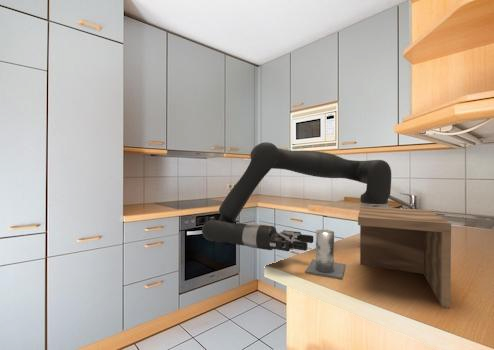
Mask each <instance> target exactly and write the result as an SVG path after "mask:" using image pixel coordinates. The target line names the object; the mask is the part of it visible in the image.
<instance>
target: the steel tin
mask: <svg viewBox="0 0 494 350" xmlns="http://www.w3.org/2000/svg"><path fill="white" fill-rule="evenodd" d="M315 260H316V270H317V271H319V272H322V273H332V272H334V262H335V232H334V230H333V231H332V230H329V229H318V230H316V231H315Z"/></svg>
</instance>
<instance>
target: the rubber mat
mask: <svg viewBox="0 0 494 350" xmlns="http://www.w3.org/2000/svg"><path fill="white" fill-rule="evenodd" d="M346 264H347V263H342V262H341V263H340V262H335V261H334V272H332V273H322V272H319V271H317V270H316V258H315V259H313V258H312V259H311V261H310V262H309V264H308V266H307V267H306V268H305V270H304V274H308V275H312V276H320V277H325V278H332V279H338V280H343V277H344V273H345V270H346V266H347V265H346Z"/></svg>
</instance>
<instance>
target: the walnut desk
mask: <svg viewBox="0 0 494 350" xmlns="http://www.w3.org/2000/svg"><path fill="white" fill-rule="evenodd" d="M359 208H360V209H359V211H358V215H357V225H358V226H359V228H360V230H359V234H360V235H359V236H360V237H359V238H360V239H359V247H360V248H359V258H360V259H359V265H361V266H365V267H372V268H379V269H380V268H381V269H387V270H394V271H401V272H408V273H415V274H421V275H422V274H423V275H424V277H425V279H426V280H427V283H428V284H429V286H430V288H431V290H432V291H433V294H434V295H435V297H436V300H437V301H438V303H439V305H440V307H442V308H447V309H451V285H452V284H451V283H452V281H451V277H452V275H451V273H452V272H451V269H452V267H451V265H452V222H450V221H448V220H446V219H445V218H443V217H441V216H440V215H438V214H437V213H435V212H434V211H432V210H431V209H418V208H417V209H415V208H396V207H388V208H382V207H364V206H361V207H359Z"/></svg>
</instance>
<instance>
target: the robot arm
mask: <svg viewBox="0 0 494 350" xmlns="http://www.w3.org/2000/svg"><path fill="white" fill-rule="evenodd" d="M249 158H250V162H249V164H248V166H247V168H246V169H245V171H244V173H243V174H242V176H241V177H239V178H240V179H239V180H237V182H236V183H235V185H234V186H233V187H232V189H230V191H229V192H228V194H227V195H226V197H225V198H224V200H223V201H222V203H221V205H220V206H219V208H218V211H219V213H220V215H219V218H218V220H216V219H211V220H209V219H208V220H207V221H206V222H205V223H203V225H202V228H201V234H202V236H203V238H205V240H208V241H210V242H216V243H230V244H233V245H237V246H243V247H248V248H252V249H258V250H259V249H260V250H266V251H273V250H276V251H284V252H290V251H293V250H298V251H307V250H308V244H312V243H313V242H314V236H313V235H311V234H302V232H301V231H293V230H292V231H291V230H286V229H285V230H282V231H280V232H278V231H277V228H276V226H274V225H267V224H266V225H265V224H260V223H259V224H258V223H257V224H256V223H249V224H248V223H240V222H239V223H238V222H237V223H236V220H237V218H238V216H239V214H240V213H241V212H242V210H243V208H244V207H245V205H246V204H247V202H248V200H249V199H250V198H251V196H252V195H253V193H254V192H255V190H256V188H257V187H258V185H259V184H260V182H262V180H263V179H264V178H265V176H266V175H267V174H268V173H269V172H270V171H271V170H272V169H273V170H274V169H276V170H285V171H291V172H293V173H294V172H295V173H297V174H302V175H307V176H311V177H315V178H316V177H317V178H324V179H325V178H327V179H347V180H351V181H355V182H357V183H361V184H366V190H365V192H364V193H362V194H360V199H359V200H360V202H359V203H360V207H361V206H364V207H382V208H389V205H388V204H389V203H388V202H389V199H390V196H391V192H392V191H391V189H392V169H391V166H390V164H389V163H388V162H387V161H385V160H383V159H370V160H351V159H347V158H343V157H340V156H338V155H337V154H332V153H330V152H325V151H323V152H322V151H317V150H290V149H283V148H279V147H277V146H276V145H275V144H274V143H272V142H267V141H265V142H260V143H258V144H257V145H255V146H253V148H252V150H251V151H250V157H249ZM360 207H359V208H360Z"/></svg>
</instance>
